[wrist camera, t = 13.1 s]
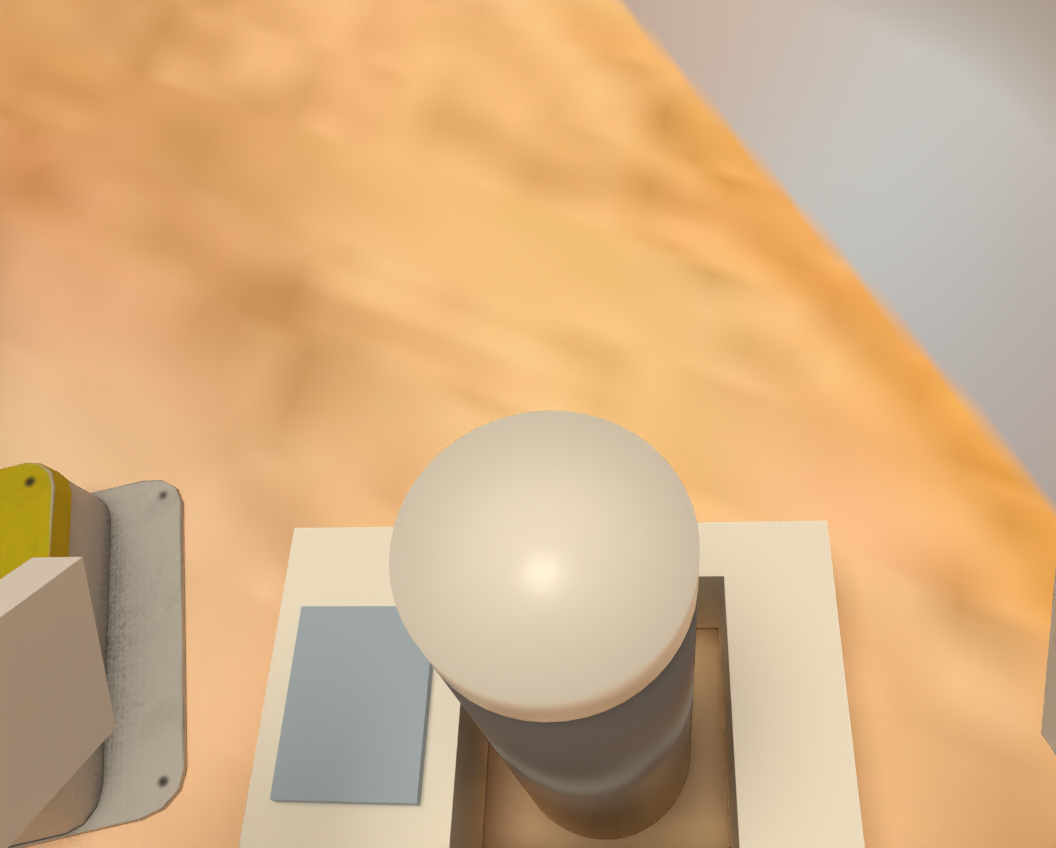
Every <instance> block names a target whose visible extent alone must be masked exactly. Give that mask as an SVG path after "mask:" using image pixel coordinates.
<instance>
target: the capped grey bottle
mask: <svg viewBox="0 0 1056 848" xmlns="http://www.w3.org/2000/svg"><path fill="white" fill-rule="evenodd" d="M699 560H700V540H699V531H698V524H697V520H696V516H695V512H694V508H693V505H692V503H691V500H690V498H689V496H688V493H687V491H686V489H685V487H684V485H683V484H682V482H681V480H680V479H679V477H678V475H677V474H676V472H675V471H674V470H673V468H672V467H671V466H670V465H669V463H668V462H667V461H666V460H665V458H664V457H663V456H661V455H660V454H659V453H658V452H657V451H656V450H655V449H654V448H653V447H652V446H651V445H650V444H648V443H647V442H646V441H644V440H643V439H641V438H640V437H639V436H637V435H636V434H634V433H632V432H631V431H629V430H627V429H625V428H623V427H621V426H620V425H617V424H615V423H612V422H610V421H607V420H605V419H602V418H598V417H594V416H591V415H587V414H582V413H575V412H568V411H537V412H527V413H522V414H517V415H512V416H508V417H505V418H502V419H498V420H495V421H492V422H490V423H488V424H485V425H483V426H481V427H479V428H476V429H474V430H473V431H471V432H469V433H467V434H466V435H464V436H462V437H461V438H459V439H457V440H456V441H455V442H453V443H452V444H451V445H450V446H448V447H447V448H446V449H444V450H443V451H442V452H441V453H440V454H439V455H438V456H437V457H436V458H435V459H433V460H432V461H431V462H430V463H429V465H428V466H427V467H426V468H425V469H424V471H423V472H422V473H421V474H420V475H419V477H418V478H417V479H416V481H415V482H414V484H413V486H412V487H411V489H410V490H409V492H408V493H407V495H406V497H405V500H404V502H403V504H402V506H401V508H400V510H399V513H398V516H397V519H396V522H395V525H394V528H393V533H392V538H391V543H390V553H389V573H390V584H391V589H392V593H393V598H394V602H395V605H396V607H397V610H398V613H399V615H400V618H401V620H402V622H403V624H404V626H405V628H406V629H407V631H408V633H409V635H410V637H411V638H412V639H413V641H414V642H415V643H416V645H417V646H418V647H419V649H420V650H421V651H422V653H423V654H424V655H425V657H426V658H427V659H428V661H429V662H430V663H431V665H432V666H433V667H434V669H435V670H436V671H437V673H438V674H439V675H440V677H441V678H442V679H443V681H444V682H445V683H446V685H447V686H448V687H449V689H450V690H451V691H452V693H453V694H454V695H455V697H456V698H457V699H458V701H459V702H460V703H461V705H462V706H463V707H464V709H465V710H466V711H467V713H468V714H469V715H470V717H471V718H472V719H473V720H474V722H475V723H476V724H477V726H478V727H479V728H480V730H481V731H482V732H483V734H484V735H485V736H486V738H487V739H488V740H489V742H490V743H491V744H492V746H493V747H494V748H495V750H496V751H497V752H498V754H499V755H500V756H501V758H502V759H503V760H504V762H505V763H506V764H507V766H508V767H509V768H510V770H511V771H512V772H513V774H514V775H515V776H516V778H517V779H518V780H519V782H520V783H521V784H522V786H523V787H524V788H525V790H526V791H527V792H528V794H529V795H530V796H531V798H532V799H533V800H534V802H535V803H536V804H537V805H538V807H539V808H540V809H541V810H542V811H543V812H544V813H545V814H546V815H547V816H548V817H549V818H550V819H551V820H552V821H554V822H555V823H556V824H558V825H559V826H561V827H563V828H565V829H566V830H568V831H570V832H573V833H575V834H578V835H581V836H585V837H589V838H597V839H615V838H620V837H626V836H629V835H632V834H635V833H637V832H639V831H641V830H643V829H645V828H647V827H649V826H650V825H652V824H653V823H655V822H656V821H657V820H659V819H660V818H661V817H662V816H663V815H664V814H665V813H666V812H667V811H668V810H669V808H670V807H671V806H672V805H673V804H674V802H675V800H676V799H677V797H678V796H679V794H680V792H681V790H682V787H683V785H684V783H685V779H686V776H687V773H688V767H689V761H690V743H691V723H692V703H693V683H694V663H695V642H696V622H697V602H698V582H699Z"/></svg>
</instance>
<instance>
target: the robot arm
mask: <svg viewBox="0 0 1056 848" xmlns="http://www.w3.org/2000/svg"><path fill="white" fill-rule="evenodd" d="M115 728H116V724H115V719H114V714H113V709H112V704H111V699H110V694H109V689H108V684H107V679H106V673H105V668H104V663H103V658H102V653H101V648H100V643H99V638H98V633H97V628H96V623H95V617H94V612H93V607H92V602H91V597H90V592H89V587H88V582H87V577H86V572H85V567H84V561H83V557H38V558H31V559H30V560H28V561H27V562H25V563H24V564H22V565H21V566H19V567H18V568H16V569H15V570H13V571H12V572H10V573H9V574H7V575H6V576H4V577H3V578H2V579H0V848H8V847H9V846H10V845H11V844H12V843H13V841H14V840H15V839H16V838H17V837H18V836H19V835H20V834H21V833H22V831H23V830H24V829H25V828H26V827H27V826H28V825H29V824H30V823H31V821H32V820H33V819H34V818H35V817H36V816H37V815H38V814H39V813H40V811H41V810H42V809H43V808H44V807H45V806H46V805H47V804H48V803H49V801H50V800H51V799H52V798H53V797H54V796H55V795H56V794H57V793H58V791H59V790H60V789H61V788H62V787H63V786H64V785H65V784H66V783H67V781H68V780H69V779H70V778H71V777H72V776H73V775H74V774H75V773H76V771H77V770H78V769H79V768H80V767H81V766H82V765H83V764H84V763H85V761H86V760H87V759H88V758H89V757H90V756H91V755H92V754H93V753H94V751H95V750H96V749H97V748H98V747H99V746H100V745H101V744H102V743H103V741H104V740H105V739H106V738H107V737H108V736H109V735H110V734H111V733H112V731H113V730H114V729H115ZM1041 734H1042V736H1043V737H1044V739H1045V740H1046V741H1047V743H1048V744H1049V746H1050V747H1051V749H1052V750H1053V752H1054V753H1055V755H1056V570H1055V581H1054V593H1053V604H1052V615H1051V627H1050V638H1049V650H1048V661H1047V673H1046V684H1045V696H1044V707H1043V719H1042V730H1041Z"/></svg>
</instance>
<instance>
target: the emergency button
mask: <svg viewBox="0 0 1056 848" xmlns="http://www.w3.org/2000/svg"><path fill="white" fill-rule="evenodd" d="M38 557H83V561H84V567H85V572H86V577H87V582H88V587H89V592H90V597H91V602H92V607H93V612H94V617H95V623H96V628H97V633H98V638H99V643H100V648H101V653H102V658H103V663H104V668H105V673H106V679H107V684H108V689H109V694H110V699H111V704H112V709H113V714H114V719H115V724H116V728H115V729H114V730H113V731H112V733H111V734H110V735H109V736H108V737H107V738H106V739H105V740H104V741H103V743H102V744H101V745H100V746H99V747H98V748H97V749H96V750H95V751H94V753H93V754H92V755H91V756H90V757H89V758H88V759H87V760H86V761H85V763H84V764H83V765H82V766H81V767H80V768H79V769H78V770H77V771H76V773H75V774H74V775H73V776H72V777H71V778H70V779H69V780H68V781H67V783H66V784H65V785H64V786H63V787H62V788H61V789H60V790H59V791H58V793H57V794H56V795H55V796H54V797H53V798H52V799H51V800H50V801H49V803H48V804H47V805H46V806H45V807H44V808H43V809H42V810H41V811H40V813H39V814H38V815H37V816H36V817H35V818H34V819H33V820H32V821H31V823H30V824H29V825H28V826H27V827H26V828H25V829H24V830H23V831H22V833H21V834H20V835H19V836H18V837H17V838H16V839H15V840H14V841H13V843H12V844H11V845H10V846H9V847H8V848H24V847H28V846H32V845H37V844H41V843H45V842H50V841H54V840H58V839H62V838H67V837H71V836H75V835H80V834H84V833H88V832H92V831H97V830H101V829H105V828H110V827H114V826H118V825H122V824H127V823H131V822H135V821H140V820H143V819H145V818H148V817H150V816H152V815H154V814H156V813H158V812H160V811H162V810H164V809H166V808H167V806H168V805H169V804H170V803H171V802H172V801H173V799H174V798H175V797H176V796H177V795H178V794H179V792H180V791H181V790H182V786H183V782H184V779H185V775H186V771H187V724H186V647H185V569H184V503H183V501H182V498H181V495H180V493H179V490H178V489H177V488H176V487H174V486H172V485H170V484H168V483H166V482H164V481H162V480H152V481H140V482H136V483H132V484H128V485H124V486H119V487H115V488H111V489H107V490H103V491H99V492H94V493H89V492H87V491H85V490H84V489H82V488H80V487H78V486H77V485H75V484H73V483H72V482H70V481H69V480H67V479H66V478H65V477H64V476H62V475H61V474H60V473H59V472H57V471H55V470H53V469H51V468H49V467H47V466H45V465H43V464H41V463H24V464H20V465H16V466H12V467H8V468H3V469H0V579H2V578H3V577H4V576H6V575H7V574H9V573H10V572H12V571H13V570H15V569H16V568H18V567H19V566H21V565H22V564H24V563H25V562H27V561H28V560H30V559H31V558H38Z"/></svg>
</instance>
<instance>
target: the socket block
mask: <svg viewBox="0 0 1056 848" xmlns="http://www.w3.org/2000/svg"><path fill="white" fill-rule="evenodd" d="M697 524H698V531H699V540H700V560H699V582H698V602H697V622H696V628H719V645H720V664H721V683H722V701H723V720H724V739H725V758H726V777H727V796H728V814H729V833H730V848H865V844H864V836H863V827H862V818H861V810H860V801H859V792H858V784H857V775H856V766H855V758H854V749H853V741H852V732H851V723H850V715H849V706H848V697H847V689H846V680H845V671H844V663H843V654H842V645H841V637H840V628H839V619H838V611H837V602H836V594H835V585H834V576H833V568H832V559H831V550H830V542H829V533H828V524H827V521H770V522H698V523H697ZM393 528H394V527H338V528H295V529H294V534H293V540H292V546H291V551H290V557H289V563H288V569H287V574H286V580H285V586H284V591H283V597H282V603H281V608H280V614H279V620H278V626H277V631H276V637H275V643H274V648H273V654H272V660H271V666H270V671H269V677H268V683H267V688H266V694H265V700H264V706H263V711H262V717H261V723H260V728H259V734H258V740H257V745H256V751H255V757H254V763H253V768H252V774H251V780H250V785H249V791H248V797H247V803H246V808H245V814H244V820H243V825H242V831H241V837H240V843H239V848H482V842H483V826H484V810H485V793H486V777H487V761H488V745H489V740H488V739H487V738H486V736H485V735H484V734H483V732H482V731H481V730H480V728H479V727H478V726H477V724H476V723H475V722H474V720H473V719H472V718H471V717H470V715H469V714H468V713H467V711H466V710H465V709H464V707H463V706H462V705H461V703H460V702H459V701H458V699H457V698H456V697H455V695H454V694H453V693H452V691H451V690H450V689H449V687H448V686H447V685H446V683H445V682H444V681H443V679H442V678H441V677H440V675H439V674H438V673H437V671H436V670H435V669H434V667H433V666H432V665H431V663H430V662H429V661H428V659H427V658H426V657H425V655H424V654H423V653H422V651H421V650H420V649H419V647H418V646H417V645H416V643H415V642H414V641H413V639H412V638H411V637H410V635H409V633H408V631H407V629H406V628H405V626H404V624H403V622H402V620H401V618H400V615H399V613H398V610H397V607H396V605H395V602H394V598H393V593H392V589H391V584H390V573H389V553H390V543H391V538H392V533H393Z"/></svg>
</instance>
